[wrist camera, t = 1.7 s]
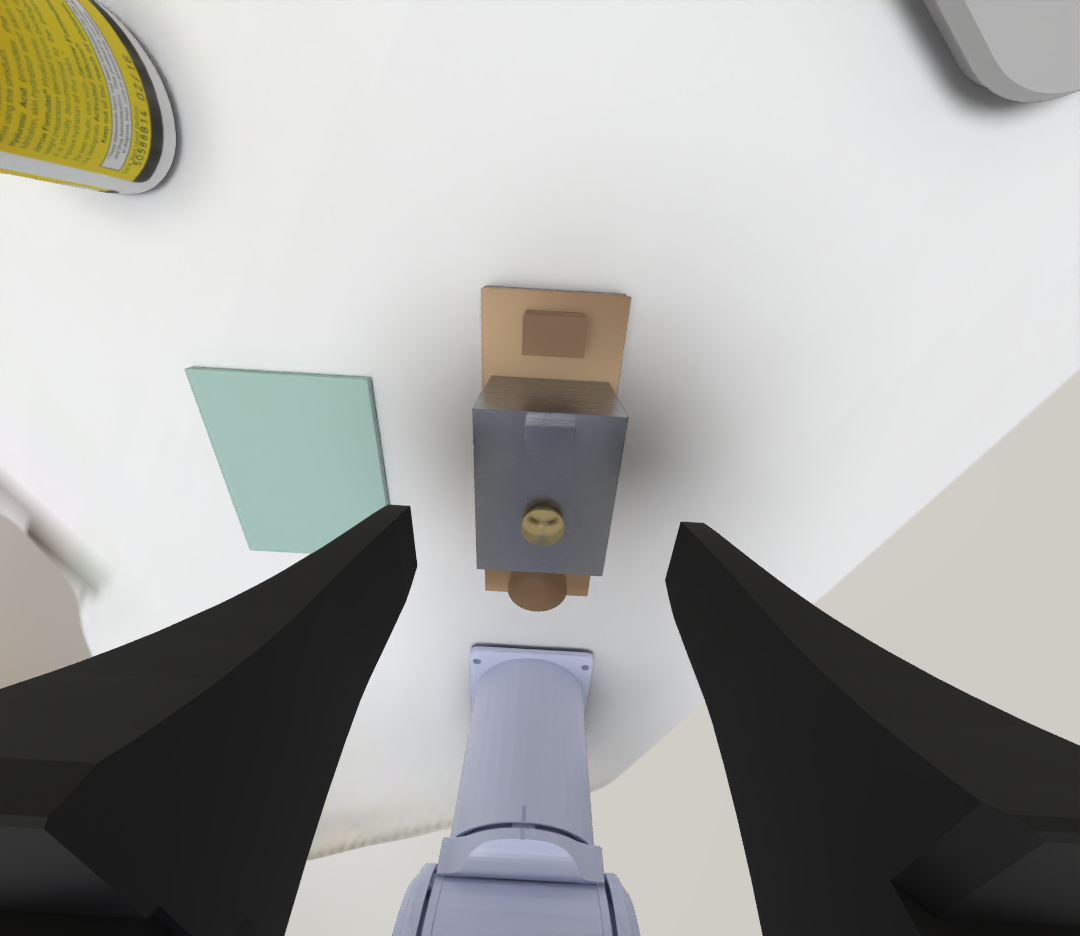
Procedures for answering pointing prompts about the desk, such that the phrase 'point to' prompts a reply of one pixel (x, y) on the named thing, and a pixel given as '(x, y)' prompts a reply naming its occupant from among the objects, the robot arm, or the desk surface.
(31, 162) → the supplement bottle
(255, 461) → the mat
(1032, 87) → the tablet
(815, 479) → the desk surface
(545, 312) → the plane body
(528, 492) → the lever cap
